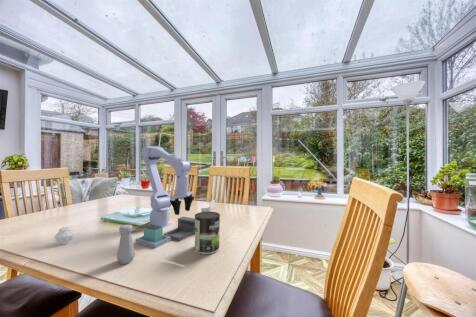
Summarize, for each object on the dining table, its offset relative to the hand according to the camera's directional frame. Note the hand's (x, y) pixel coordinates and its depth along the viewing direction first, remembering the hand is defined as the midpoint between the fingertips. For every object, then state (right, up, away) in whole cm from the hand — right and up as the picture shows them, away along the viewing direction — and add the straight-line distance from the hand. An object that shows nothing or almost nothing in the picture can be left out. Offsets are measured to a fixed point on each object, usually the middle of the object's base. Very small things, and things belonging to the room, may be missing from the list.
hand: (182, 212), depth 103 cm
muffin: (-47, -10, -14) cm, 50 cm away
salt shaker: (-13, -11, -28) cm, 33 cm away
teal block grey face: (-10, -9, -12) cm, 18 cm away
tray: (-9, -10, -12) cm, 18 cm away
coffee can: (+15, -11, -17) cm, 25 cm away
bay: (+1, -10, -2) cm, 10 cm away
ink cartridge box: (+12, -10, +7) cm, 17 cm away
